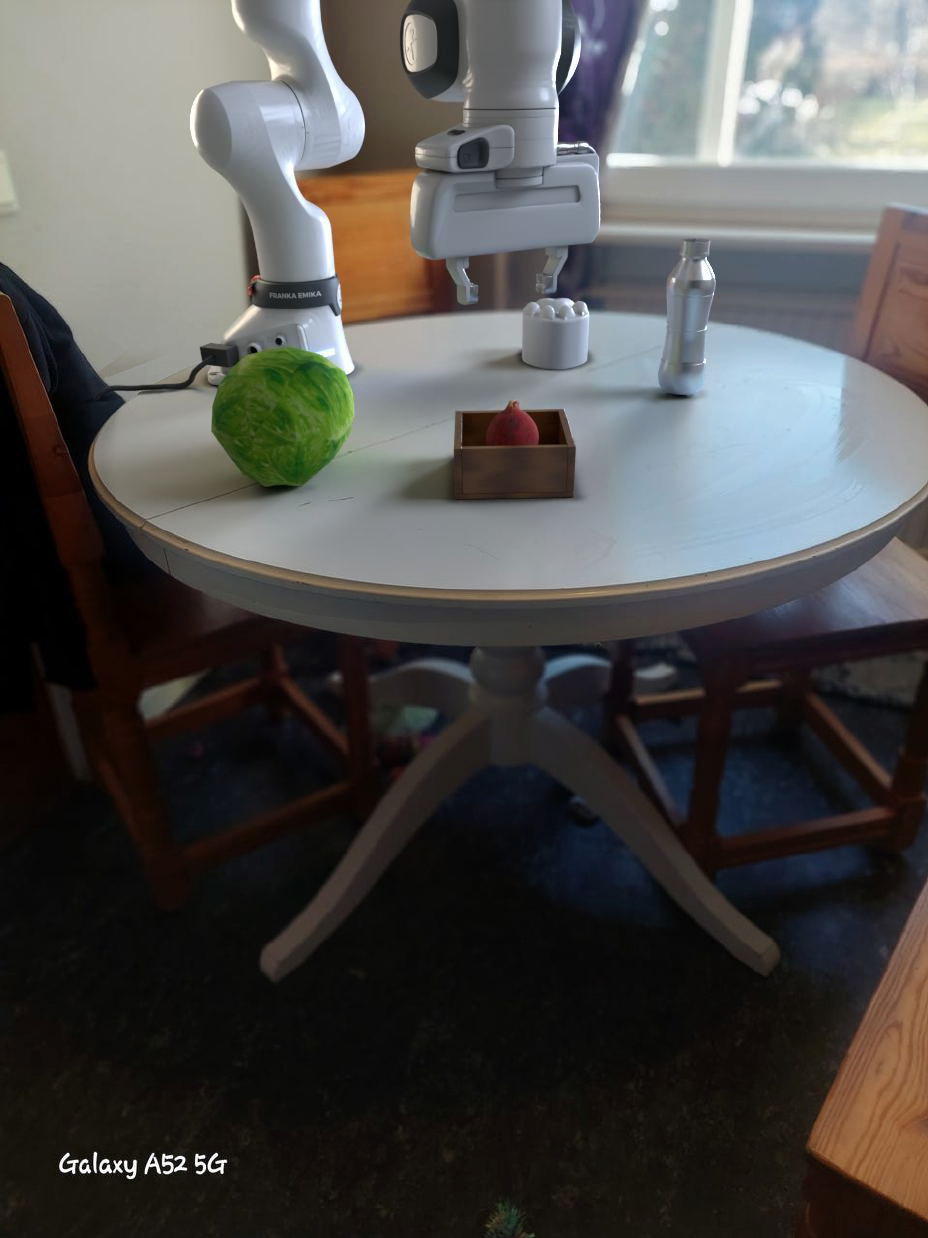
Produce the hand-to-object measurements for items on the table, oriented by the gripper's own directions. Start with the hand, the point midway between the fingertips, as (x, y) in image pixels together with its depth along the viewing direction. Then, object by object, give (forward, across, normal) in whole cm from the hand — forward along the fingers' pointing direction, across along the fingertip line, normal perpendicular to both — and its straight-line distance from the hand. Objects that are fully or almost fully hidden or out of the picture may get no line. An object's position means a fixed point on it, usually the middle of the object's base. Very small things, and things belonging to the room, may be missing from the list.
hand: (507, 297), depth 89 cm
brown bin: (+19, 0, +2) cm, 19 cm away
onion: (+18, 0, +2) cm, 19 cm away
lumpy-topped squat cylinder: (+20, -32, -37) cm, 53 cm away
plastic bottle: (+19, -36, -12) cm, 43 cm away
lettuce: (+19, +19, -15) cm, 31 cm away
